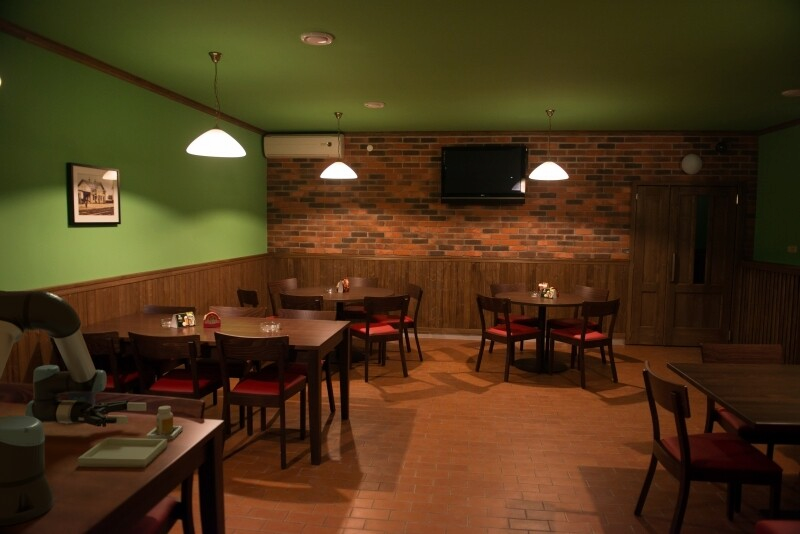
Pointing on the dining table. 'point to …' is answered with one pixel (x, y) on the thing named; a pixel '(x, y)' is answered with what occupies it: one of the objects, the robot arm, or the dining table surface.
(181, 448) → the dining table surface
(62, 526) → the dining table surface
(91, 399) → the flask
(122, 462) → the tray
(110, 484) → the dining table surface
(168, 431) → the supplement bottle
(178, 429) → the holder ring
